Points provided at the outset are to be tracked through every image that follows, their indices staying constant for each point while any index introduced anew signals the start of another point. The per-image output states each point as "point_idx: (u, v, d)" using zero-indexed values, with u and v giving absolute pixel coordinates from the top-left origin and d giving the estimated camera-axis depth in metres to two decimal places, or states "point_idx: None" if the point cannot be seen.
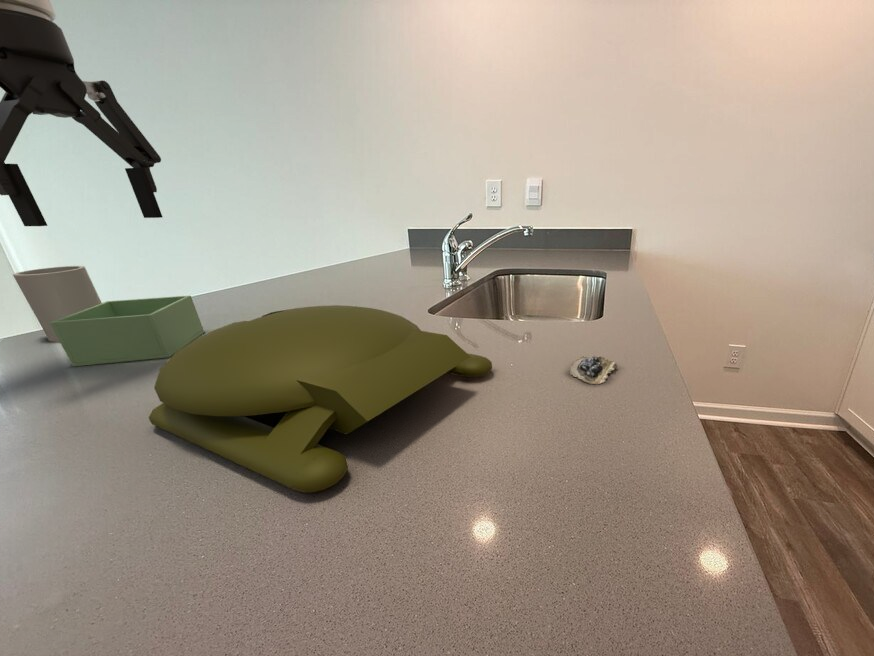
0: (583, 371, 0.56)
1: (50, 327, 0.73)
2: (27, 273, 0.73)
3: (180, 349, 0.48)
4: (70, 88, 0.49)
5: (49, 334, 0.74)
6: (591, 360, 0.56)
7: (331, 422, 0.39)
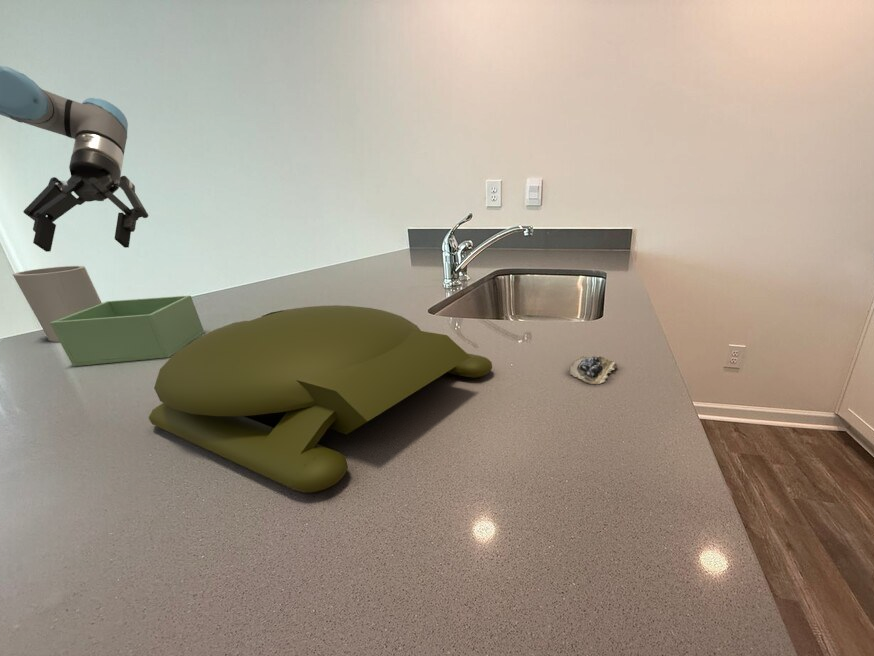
0: (583, 371, 0.56)
1: (50, 327, 0.73)
2: (27, 273, 0.73)
3: (180, 349, 0.48)
4: (94, 179, 0.84)
5: (49, 334, 0.74)
6: (591, 360, 0.56)
7: (331, 422, 0.39)
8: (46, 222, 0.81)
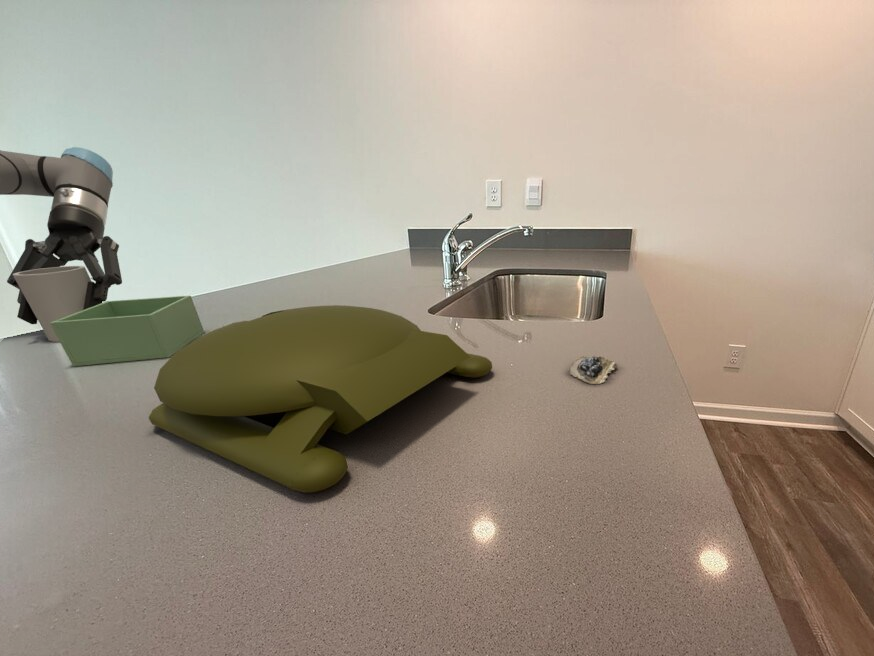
0: (583, 371, 0.56)
1: (50, 327, 0.73)
2: (27, 273, 0.73)
3: (180, 349, 0.48)
4: (74, 238, 0.78)
5: (49, 334, 0.74)
6: (591, 360, 0.56)
7: (331, 422, 0.39)
8: None
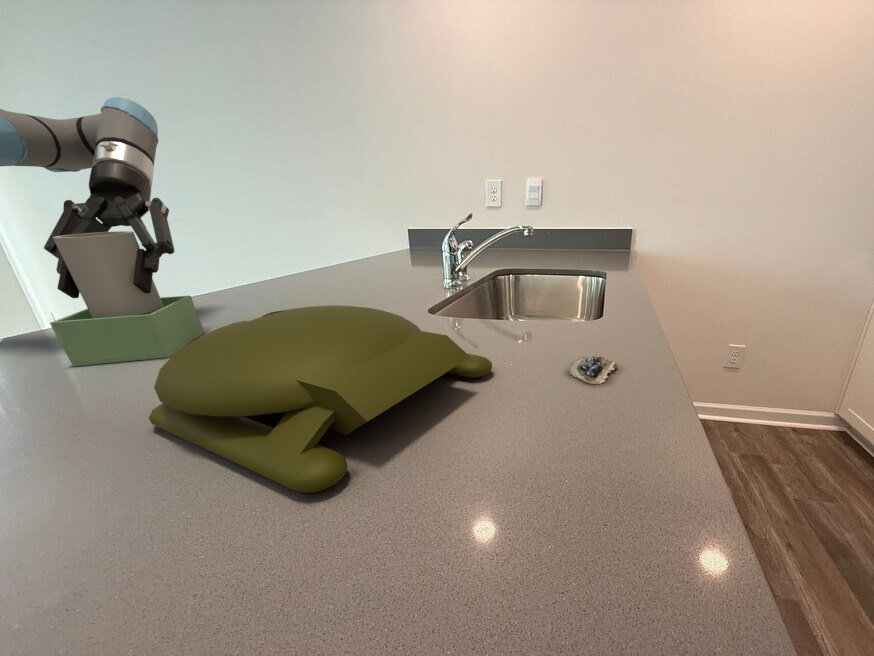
0: (583, 371, 0.56)
1: (95, 301, 0.62)
2: None
3: (180, 349, 0.48)
4: (120, 199, 0.67)
5: (94, 310, 0.63)
6: (591, 360, 0.56)
7: (331, 422, 0.39)
8: None
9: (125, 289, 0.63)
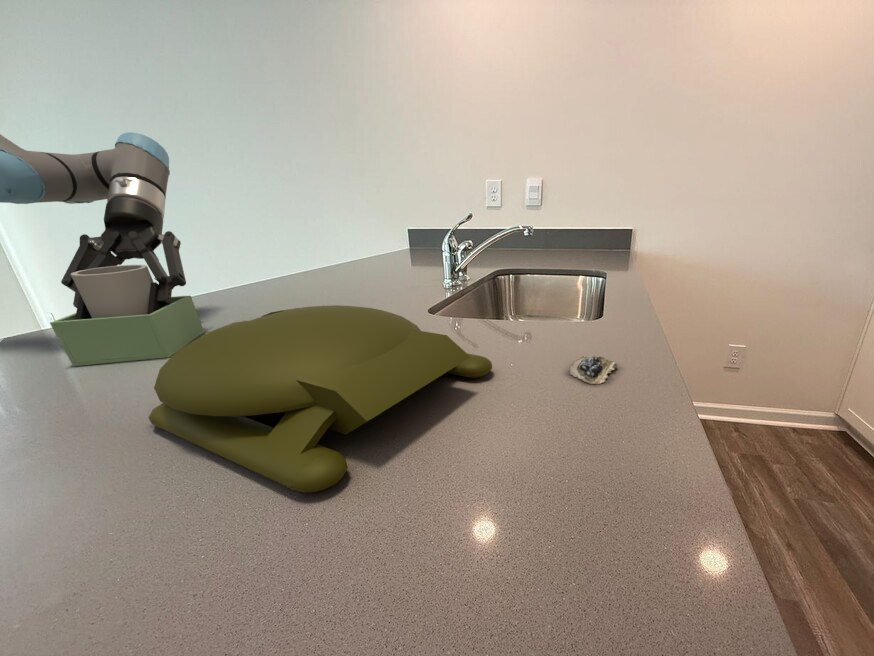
0: (583, 371, 0.56)
1: None
2: (84, 273, 0.64)
3: (180, 349, 0.48)
4: (134, 234, 0.69)
5: None
6: (591, 360, 0.56)
7: (331, 422, 0.39)
8: None
9: None
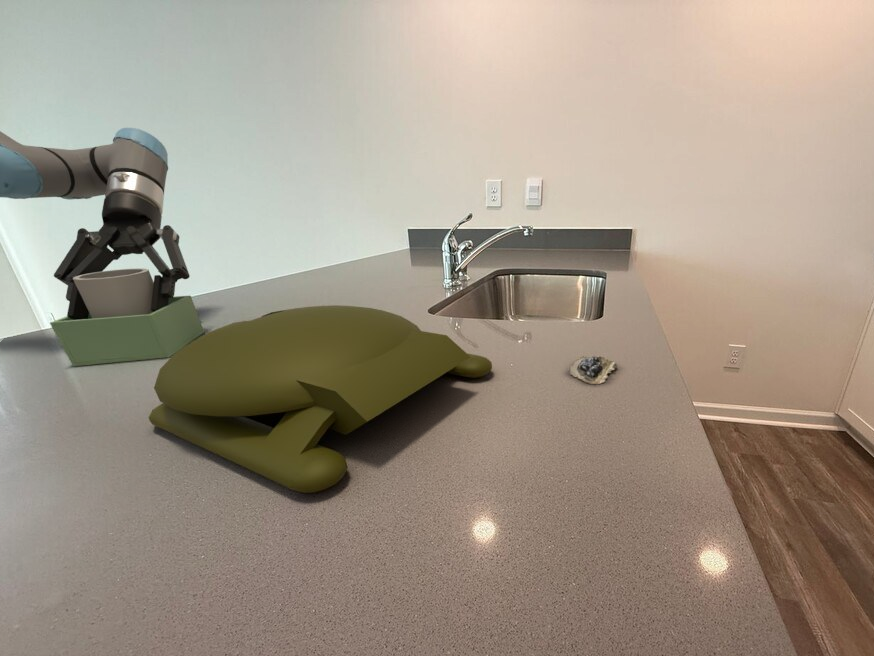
0: (583, 371, 0.56)
1: None
2: (86, 277, 0.65)
3: (180, 349, 0.48)
4: (132, 229, 0.69)
5: None
6: (591, 360, 0.56)
7: (331, 422, 0.39)
8: None
9: None
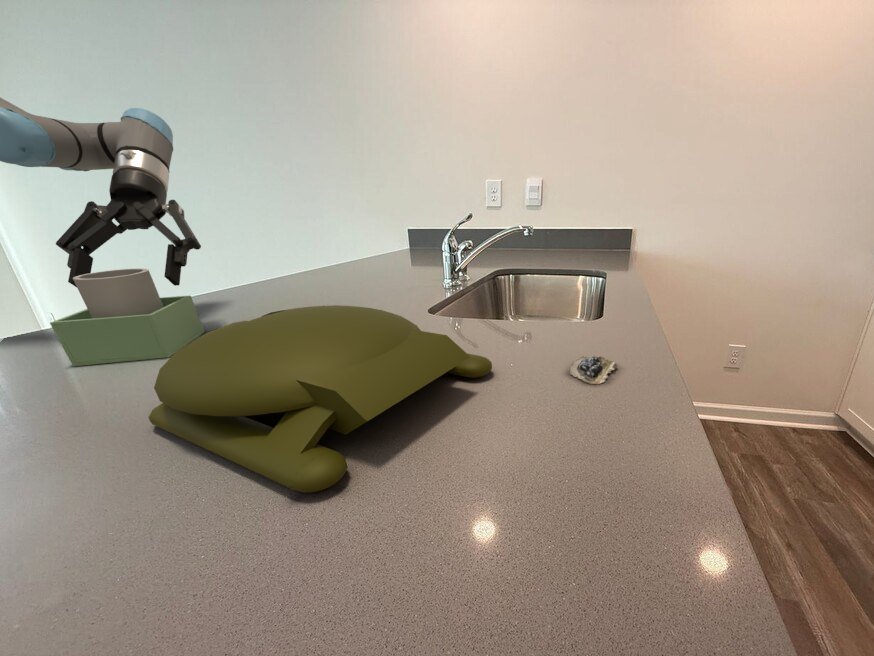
0: (583, 371, 0.56)
1: None
2: (86, 277, 0.65)
3: (180, 349, 0.48)
4: (139, 204, 0.71)
5: None
6: (591, 360, 0.56)
7: (331, 422, 0.39)
8: (83, 256, 0.68)
9: None
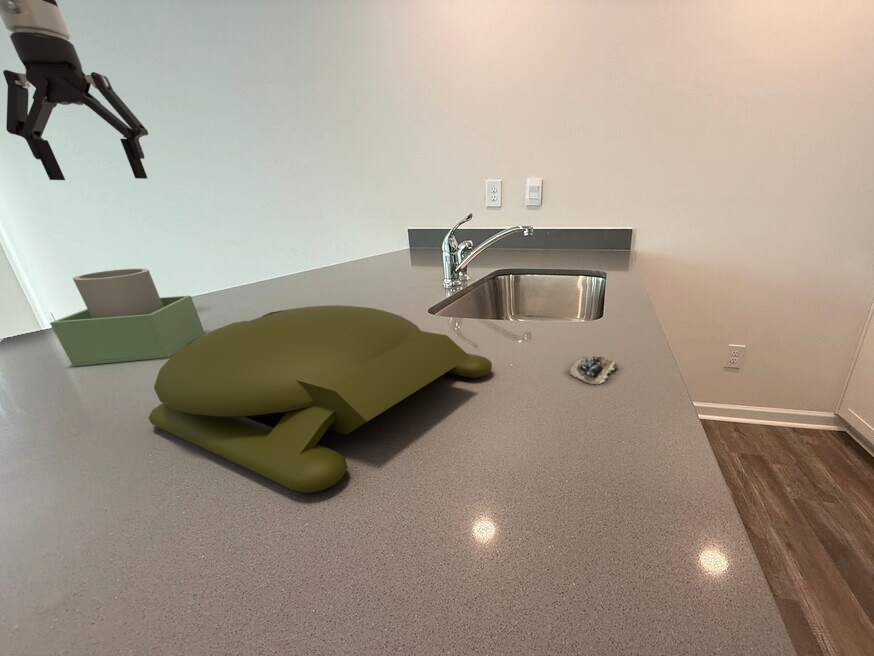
0: (583, 371, 0.56)
1: None
2: (86, 277, 0.65)
3: (180, 349, 0.48)
4: (63, 82, 0.69)
5: None
6: (591, 360, 0.56)
7: (330, 422, 0.39)
8: (42, 145, 0.73)
9: None
